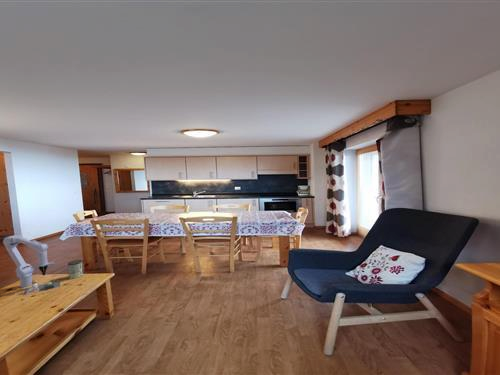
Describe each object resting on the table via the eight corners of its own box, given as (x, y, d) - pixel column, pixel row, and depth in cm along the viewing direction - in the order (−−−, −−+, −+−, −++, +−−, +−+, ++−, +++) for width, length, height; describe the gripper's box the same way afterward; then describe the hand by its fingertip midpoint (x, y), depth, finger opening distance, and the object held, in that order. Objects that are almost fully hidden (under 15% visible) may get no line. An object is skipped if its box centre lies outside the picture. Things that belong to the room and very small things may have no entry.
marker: (32, 290, 190) (31, 280, 190) (38, 289, 192) (37, 279, 192) (32, 291, 188) (31, 281, 187) (37, 290, 190) (36, 280, 189)
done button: (46, 284, 194) (46, 283, 194) (51, 283, 197) (51, 281, 197) (45, 286, 192) (45, 284, 192) (51, 284, 194) (51, 283, 194)
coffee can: (66, 278, 214) (65, 262, 214) (80, 274, 223) (79, 259, 222) (71, 280, 208) (70, 264, 208) (84, 276, 217) (83, 261, 216)
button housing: (44, 287, 195) (44, 284, 195) (54, 285, 198) (53, 282, 198) (44, 290, 190) (43, 287, 190) (53, 288, 194) (53, 285, 194)
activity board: (25, 289, 194) (25, 288, 194) (60, 281, 208) (60, 280, 208) (23, 296, 183) (23, 295, 183) (60, 287, 196) (60, 286, 196)
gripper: (30, 262, 191) (31, 279, 191) (54, 258, 200) (55, 274, 200) (31, 260, 196) (32, 276, 197) (54, 255, 205) (55, 271, 206)
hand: (44, 275), depth 199 cm, fingers closed
